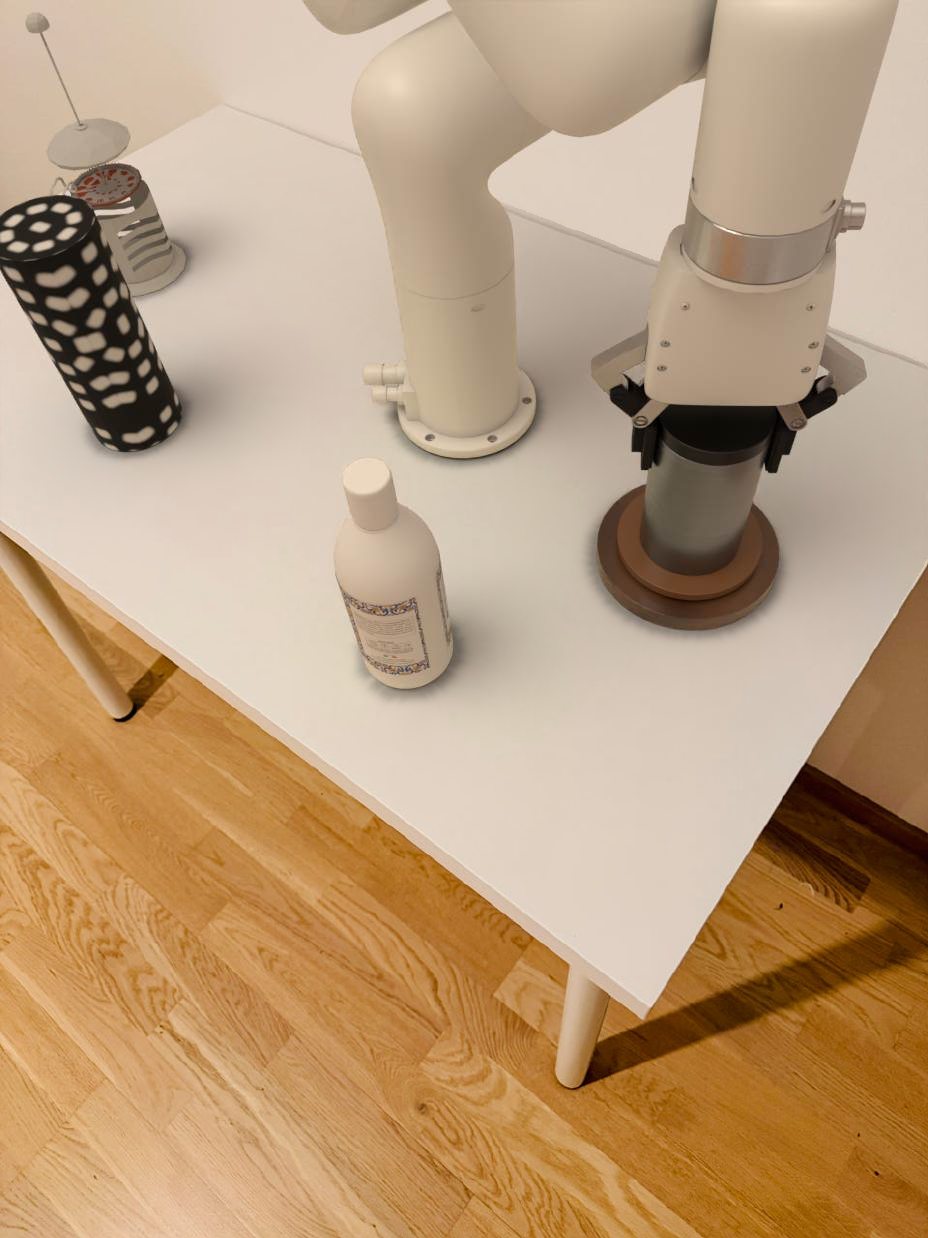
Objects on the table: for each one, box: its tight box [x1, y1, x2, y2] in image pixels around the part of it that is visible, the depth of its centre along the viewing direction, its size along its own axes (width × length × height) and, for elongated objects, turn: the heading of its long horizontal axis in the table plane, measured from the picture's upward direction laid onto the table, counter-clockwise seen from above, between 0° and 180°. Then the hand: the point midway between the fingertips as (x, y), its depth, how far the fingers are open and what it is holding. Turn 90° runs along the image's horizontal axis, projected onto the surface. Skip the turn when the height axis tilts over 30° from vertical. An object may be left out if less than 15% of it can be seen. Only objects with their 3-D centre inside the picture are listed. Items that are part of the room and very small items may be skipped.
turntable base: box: [595, 483, 781, 631], centre depth 71 cm, size 14×14×2 cm
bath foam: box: [333, 457, 454, 690], centre depth 61 cm, size 7×7×20 cm
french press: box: [24, 12, 187, 297], centre depth 87 cm, size 10×12×25 cm
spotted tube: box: [0, 194, 183, 453], centre depth 77 cm, size 8×8×20 cm
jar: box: [617, 404, 777, 600], centre depth 65 cm, size 11×12×14 cm
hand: (706, 455), depth 62 cm, fingers closed on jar, 7 cm apart
